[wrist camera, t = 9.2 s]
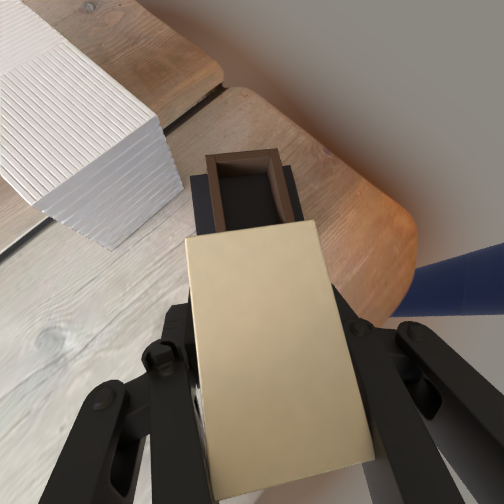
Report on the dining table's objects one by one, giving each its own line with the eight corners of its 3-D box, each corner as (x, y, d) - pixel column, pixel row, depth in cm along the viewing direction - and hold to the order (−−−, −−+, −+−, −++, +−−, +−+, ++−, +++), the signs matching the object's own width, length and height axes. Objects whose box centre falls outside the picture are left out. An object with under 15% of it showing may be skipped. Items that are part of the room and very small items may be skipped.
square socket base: (287, 171, 30) (296, 146, 26) (306, 248, 28) (320, 235, 23) (191, 181, 29) (184, 156, 25) (201, 264, 26) (195, 253, 22)
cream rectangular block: (270, 276, 19) (315, 218, 8) (289, 373, 17) (378, 460, 6) (213, 285, 18) (183, 236, 8) (226, 386, 16) (212, 504, 6)
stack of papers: (184, 189, 29) (156, 114, 18) (111, 252, 26) (30, 205, 16) (19, 44, 33) (-79, -83, 23) (-59, 84, 30) (-211, -39, 20)
